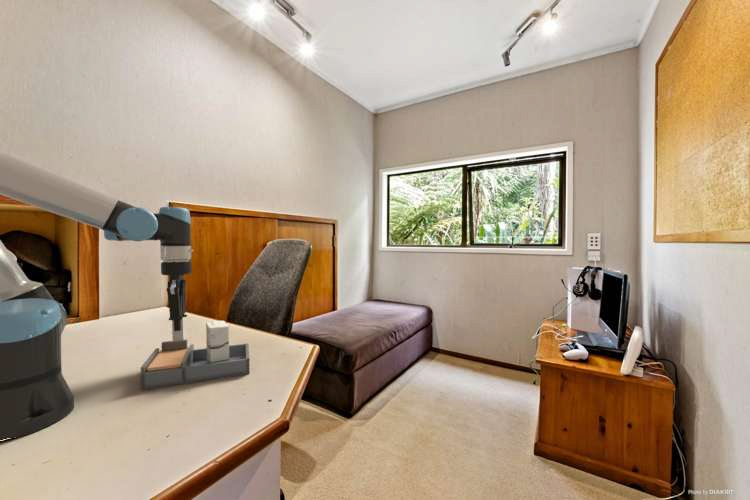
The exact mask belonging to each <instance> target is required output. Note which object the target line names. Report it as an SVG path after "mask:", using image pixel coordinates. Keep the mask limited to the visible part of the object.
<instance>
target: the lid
mask: <svg viewBox="0 0 750 500" xmlns="http://www.w3.org/2000/svg"><path fill="white" fill-rule="evenodd" d="M189 347H190V346H188V339H186V338H185V339H184V340H176V341H173V340H169V341H168V340H167V341H162V342H161V350H159V353H158V355H157V356H156V357H155V359H154V360H153V361H152V363H151V364H150V365H149V367H148V368H147V371H155V370H162V369H169V368H177V367H181V366H182V361H183V359H184V357H185V355H186V353H187V351H188V349H189Z"/></svg>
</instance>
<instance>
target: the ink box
mask: <svg viewBox="0 0 750 500" xmlns="http://www.w3.org/2000/svg"><path fill="white" fill-rule="evenodd" d="M205 327H206V329H205V330H206V335H205V336H206V348H207V363H208V364H210V363H218V362H225V361H229V346H230V338H229V337H230V334H229V333H230V330H229V328H230V327H229V325H228V324H227V322H226V321H225V320H214V321H213V320H212V321H207V322H206V323H205Z"/></svg>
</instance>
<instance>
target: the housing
mask: <svg viewBox="0 0 750 500" xmlns="http://www.w3.org/2000/svg"><path fill="white" fill-rule="evenodd" d="M188 347H189V349H188V351H187V353H186V355H185V357H184V359H183V361H182V366H181V367H177V368H169V369H162V370H155V371H147V368H148V367H149V365H150V364H151V363H152V361H153V360H154V359H155V357H156V356H157V355H158V353H159V352H160V348H159V347H158V348H155V349H154V350H153V351H152V353H151V354H150V356H148V358H147V359H146V360H145V361H144V363H143V364H142V365H141V367H140V391H147V390H153V389H161V388H167V387H172V386H173V387H174V386H179V385H186V384H192V383H193V384H194V383H200V382H206V381H213V380H218V379H220V380H221V379H224V378H232V377H238V376H245V375H249V374H250V349H249V343H247V342H246V343H241V344H229V361H225V362H218V363H210V364H208V363H207V347H206V348H198V349H197V348H196V349H195V345H194V343H193V344H189V346H188Z"/></svg>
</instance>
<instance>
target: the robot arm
mask: <svg viewBox="0 0 750 500" xmlns="http://www.w3.org/2000/svg"><path fill="white" fill-rule="evenodd" d="M0 196H3V197H6V198H8V199H12V200H15V201H17V202H20V203H24V204H26V205H29V206H33V207H35V208H38V209H41V210H44V211H46V212H49V213H53V214H55V215H57V216H61V217H64V218H67V219H70V220H73V221H75V222H78V223H81V224H85V225H88V226H90V227H93V228H96V229H99V230H103V237H104V239H105V240H106V241H116V242H125V241H127V242H128V241H129V242H130V241H132V242H143V241H160V242H159V243H160V246H159V247H160V248H159V250H160V253H159V255H160V260H161V261H162V262H161V263H160V274H161V275H162V276H169V281H167V287H166V292H167V298H168V309H169V318H168V321H171V326H172V330H171V331H172V333H171V334H172V341H176V340H185V318H187V317H188V314H186V291H187V290H186V289H187V280H186V279H185V276H184V275H190V274H191V273H193V269H192V267H193V266H192V265H193V263H192V261H191V259H192V253H194V249H193V248H192V237H191V236H192V229H191V228H192V227H191V225H192V222H191V221H192V220H191V215H190V214H191V213H190V210H189V209H188V208H185V207H180V206H161V207H160V208H159V209H158V212H157V213H153V212H151V211H150V210H148V209H146V208H143V207H137V206H133V204H132V205H131V204H129V203H127V202H124V201H121V200H119V199H116V198H114V197H112V196H109V195H107V194H105V193H103V192H100V191H98V190H94V189H92V188H90V187H87V186H85V185H83V184H80V183H78V182H75V181H73V180H70V179H69V178H65V177H63V176H61V175H58V174H56V173H53V172H51V171H48V170H46V169H43V168H41V167H38V166H36V165H33V164H31V163H29V162H26V161H24V160H22V159H19V158H16V157H15V156H11V155H9V154H7V153H4V152H2V151H0ZM26 275H27V274H25V272H24V271H23V270H22V268H21V267H20V265H19V264H18V263H17V261H16V260H15V258H14V257H13V256H12V254H11V253H10V252H9V250H8V248H7V247H6V246H5V244H4V243H3V242H2V240H1V239H0V440H3V439H7V438H14V439H16V438H15V437H17V438H21V437H23V436H26V435H30V434H33V433H35V432H38V431H40V430H43V429H45V428H47V427H49V426H51V425H53V424H56V423H57V422H59V421H61V420H63V419H64V418H65V417H67V416H68V415H70V414H71V413H72V411H74V408H75V396H74V394H73V392H72V390H71V388H70V387H69V385H68V383H67V381H66V379H65V377H64V375H63V371H62V334H63V332H64V330H65V327H66V326H67V321H68V316H67V311H66V309H65V308H64V305H63V304H62V303H60V302H59V301H57V300H55V299H54V298H53V296H52V295H51V293H50V292H49V291H48V288H46V286H45V285H44V284H43V283H42V282H39V281H38V282H37V281H33V280H31V279H29V278H28V276H26ZM20 436H21V437H20Z"/></svg>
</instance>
